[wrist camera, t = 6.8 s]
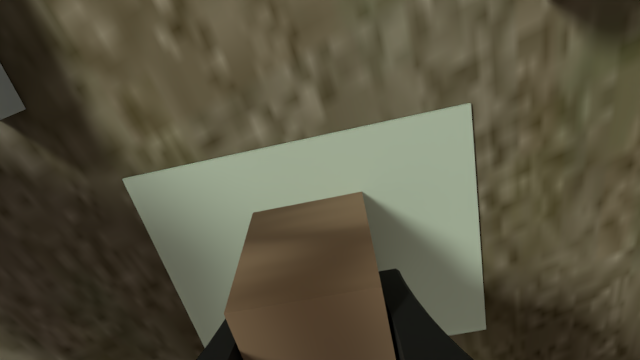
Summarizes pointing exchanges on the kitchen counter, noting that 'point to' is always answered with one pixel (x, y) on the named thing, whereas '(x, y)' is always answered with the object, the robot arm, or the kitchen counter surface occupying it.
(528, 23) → the kitchen counter surface
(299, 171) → the mat
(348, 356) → the block
